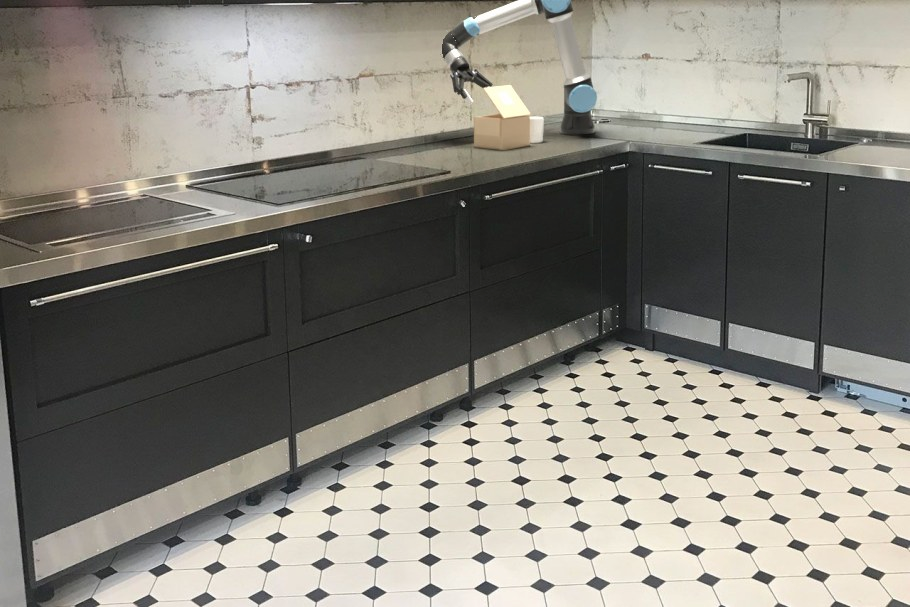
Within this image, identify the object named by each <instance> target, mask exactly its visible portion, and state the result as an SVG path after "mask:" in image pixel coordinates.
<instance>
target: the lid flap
mask: <svg viewBox="0 0 910 607" xmlns="http://www.w3.org/2000/svg"><path fill="white" fill-rule="evenodd" d="M482 90H483V91H484V93H485V95H486V96H487V98H489V100H490V102H491V103H492V105H493V107H494V108H495V109H496V110H497V111H498V114H500V115H501V116H502V118H503V119H505V118H512V117H519V116H526V115H529V116H530V115H531V112H530V110H528V108H527V106H526V105H525V104H524V102H523V100H521V98H520V96H519V95H518V93H517V92H516V91H515V89H514V88H513V86H512V84H508V85H507V84H506V85H505V84H504V85H498V86H491V87H487V88H482Z"/></svg>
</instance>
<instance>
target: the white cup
mask: <svg viewBox="0 0 910 607" xmlns="http://www.w3.org/2000/svg"><path fill="white" fill-rule="evenodd" d="M544 122H545V117H543V116H530V144H539V143H543V139H544V137H543V136H544V128H545V126H544V125H545V123H544Z"/></svg>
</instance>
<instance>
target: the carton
mask: <svg viewBox="0 0 910 607" xmlns="http://www.w3.org/2000/svg"><path fill="white" fill-rule="evenodd" d="M530 117H531V116H530V115H526V116H519V117H512V118H505V119H503V118H502V116H501V115H500V113H495V114H489V115H488V114H487V115H486V114H485V115H482V116H480V115H478V116H473V147H474V148H478V149H487V150H496V151H507V150H512V149H518V148H525V147H530V145H531V143H530Z"/></svg>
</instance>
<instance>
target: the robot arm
mask: <svg viewBox="0 0 910 607" xmlns="http://www.w3.org/2000/svg"><path fill="white" fill-rule="evenodd" d="M541 14H544V16H545V20H546V21H547V22H549V23H550V24H551V29H552V32H553V36H554V38H555V39H554V40H555V43H556V48H557V50H558V54H559V58H560V62H561V66H562V69H563V73H564V77H565V80H564V82H563V118H562V120H561V123H560V127H559V133H560V134H562V135H576V136H577V135H590V134H594V133H595V124H594V121H593V118H592V115H591V112H592V111H591V110H592V109H593V108H595V105H596V104H597V100H598V96H597V91H596V90H595V87H594V85H593V82H592V77H591V75H589V74H588V73H586V69H585V66H584V61H583V58H582V53H581V50H580V46H579V42H578V39H577V34H576V30H575V27H574V22H573V19H572V15H573V14H574V8H573V5H572V0H515V1H512V2H510V3H508V4H505V5H503V6H500V7H497V8H495V9H492V10H489V11H487V12H484V13H481V14H478V15H477V17H476V16H475V17H476V18H475V19H473V17H472V16H470V17H468V18H467V19H464V20H462V21H463V22H462V21H461V22H462V23H460V22H459V23H460V24H459V23H458V24H459V25H458V24H457V25H458V26H457V25H456V26H457V27H454V28H453V29H452V30H450V32H449V31H447V32H448V34H447V35H446V36H445V38H444V39H443V44H442V54H443V57H442V59H443V58H444V59H443V61H445V63H446V65H447V66H448V68H449V69H450V71H451V74H450V75H449V76H450V78H451V82H452V87H453V92H454V93H455V94H457V95H458V96H460V95H461V97H462V99H464V101H465V102H466V104H467V105H468V107H471V106H472V104H473V103H474V100H473V99H472V97H471V96H470V94H469V93H468V91H467V90H466V88H464V87H465V83H467V82H468V83H469V82H470V83H472V84H473V83H474V84H476V85H477V86H479V87H480V88H481V89H483V88H487V87H493V85H494V84H493V83H492V82H491V81H490V80H489V79H487V77H485V76H484V75H483V74H482V73H480V71H479V70H478V69H477V68H474V70H471V69H470V64H469V62H468V60H467V59H466V58H465V56H464V54H463V53H462V52H461V50H460V49H459V48H460V47H462V46H463V45H465V44H466V43H468V42H469V41H470V40H472V39H473V38H474V37H477V36H479V35H483V34H484V33H487V32H490V31H492V30H495V29H498V28H500V27H503V26H506V25H509V24H511V23H513V22H516V21H519V20H521V19H522V20H523V19H524V18H527V17H529V16H533V15H535V16H536V15H537V16H539V15H541ZM451 34H452V35H451ZM476 35H477V36H476ZM453 37H454V38H453ZM455 40H456V41H455Z"/></svg>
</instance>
